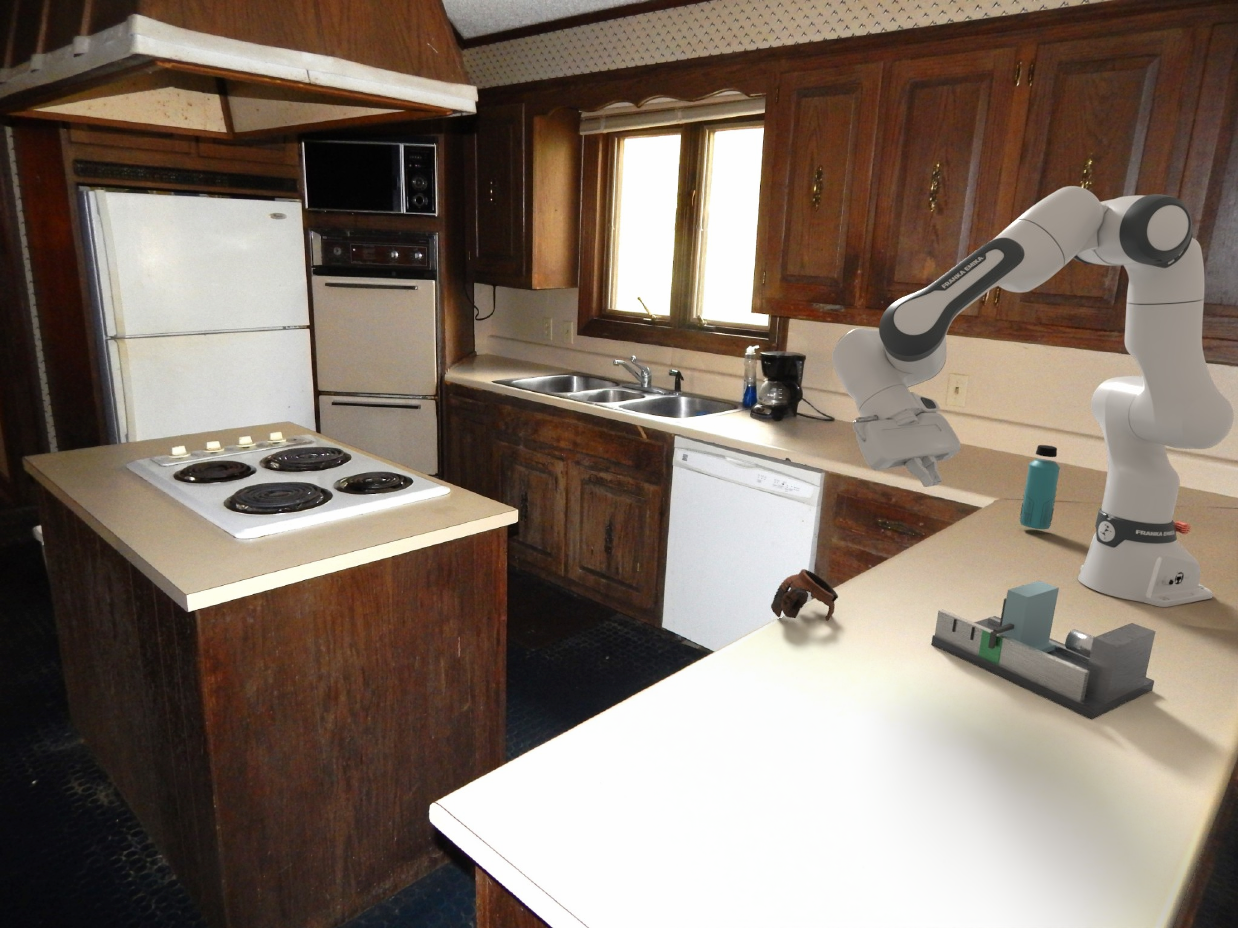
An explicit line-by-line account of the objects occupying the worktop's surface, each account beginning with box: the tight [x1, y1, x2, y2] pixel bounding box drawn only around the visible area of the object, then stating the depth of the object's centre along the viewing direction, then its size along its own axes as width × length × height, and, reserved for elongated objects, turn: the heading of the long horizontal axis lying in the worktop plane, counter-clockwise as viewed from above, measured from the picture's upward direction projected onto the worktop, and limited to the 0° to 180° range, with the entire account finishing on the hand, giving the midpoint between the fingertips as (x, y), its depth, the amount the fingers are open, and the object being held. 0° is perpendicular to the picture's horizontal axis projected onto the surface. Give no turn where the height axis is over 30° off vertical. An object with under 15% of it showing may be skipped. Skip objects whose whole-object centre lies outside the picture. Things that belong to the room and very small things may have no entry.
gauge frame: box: [931, 609, 1156, 721], centre depth 116 cm, size 24×16×10 cm, turn 33°
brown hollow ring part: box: [770, 568, 839, 622], centre depth 130 cm, size 12×10×8 cm
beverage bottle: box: [1019, 444, 1061, 530], centre depth 181 cm, size 6×7×20 cm
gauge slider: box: [988, 580, 1060, 653], centre depth 116 cm, size 5×13×9 cm, turn 123°
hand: (934, 484), depth 129 cm, fingers closed
